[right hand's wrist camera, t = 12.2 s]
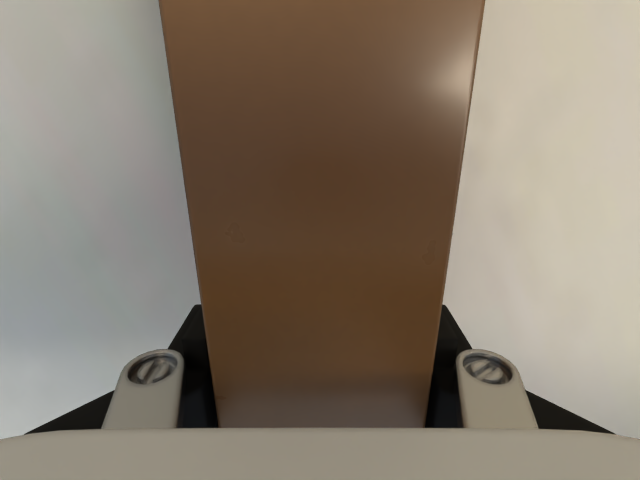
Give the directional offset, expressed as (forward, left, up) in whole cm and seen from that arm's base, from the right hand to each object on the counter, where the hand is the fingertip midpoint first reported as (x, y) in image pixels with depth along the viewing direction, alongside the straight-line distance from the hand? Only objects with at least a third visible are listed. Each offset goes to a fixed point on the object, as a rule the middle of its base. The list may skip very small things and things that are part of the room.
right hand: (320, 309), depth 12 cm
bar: (-7, -22, -4) cm, 24 cm away
